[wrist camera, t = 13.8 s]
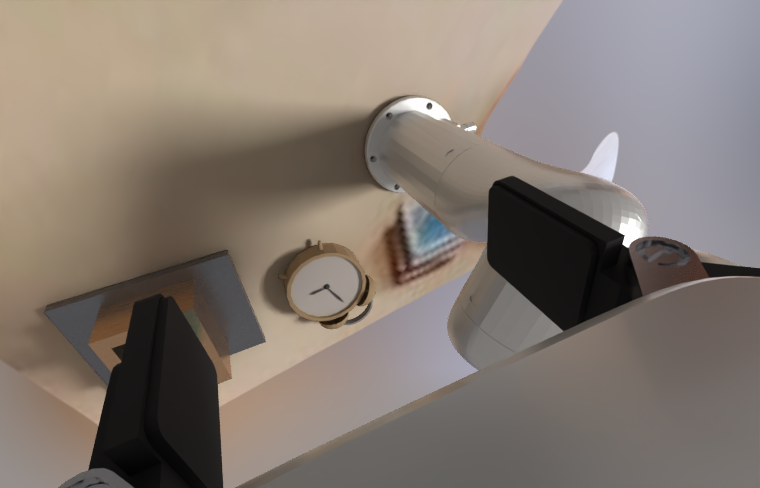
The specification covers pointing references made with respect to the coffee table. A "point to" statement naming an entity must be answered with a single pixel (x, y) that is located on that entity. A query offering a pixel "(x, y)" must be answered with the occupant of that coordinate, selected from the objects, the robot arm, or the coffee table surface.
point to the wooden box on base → (192, 294)
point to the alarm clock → (328, 285)
